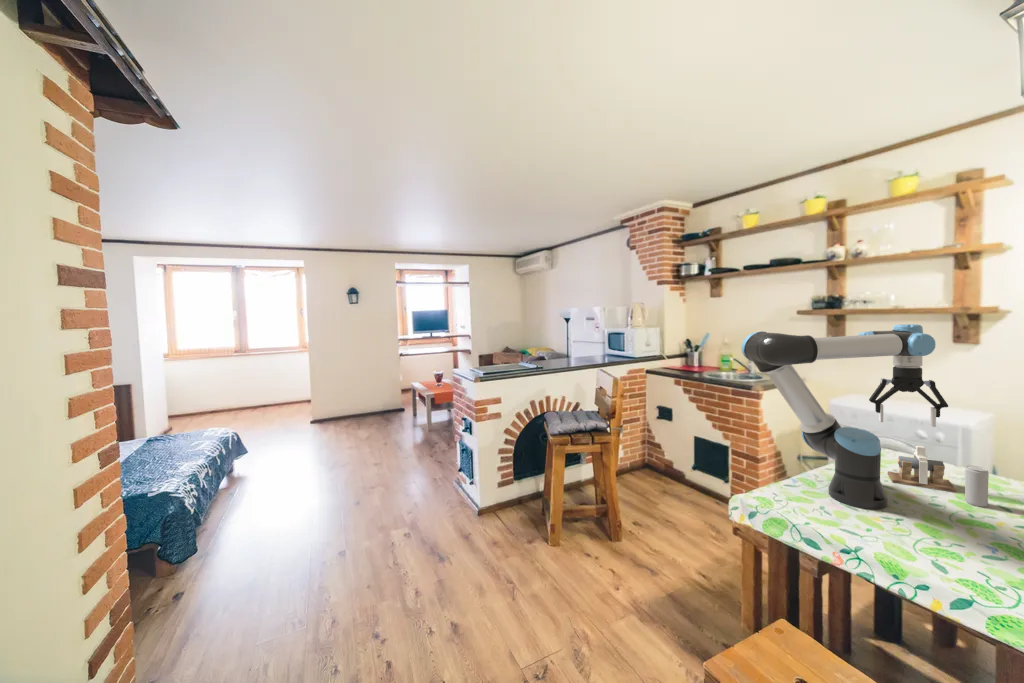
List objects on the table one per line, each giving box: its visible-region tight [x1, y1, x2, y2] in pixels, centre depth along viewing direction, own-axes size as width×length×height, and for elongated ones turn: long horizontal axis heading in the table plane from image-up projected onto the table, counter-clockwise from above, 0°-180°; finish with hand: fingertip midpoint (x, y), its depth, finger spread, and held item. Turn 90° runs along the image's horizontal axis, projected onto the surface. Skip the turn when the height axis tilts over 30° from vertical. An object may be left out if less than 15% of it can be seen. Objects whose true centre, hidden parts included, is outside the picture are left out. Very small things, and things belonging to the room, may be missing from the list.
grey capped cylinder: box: [897, 455, 946, 472], centre depth 141 cm, size 12×4×4 cm, turn 54°
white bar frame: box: [912, 445, 929, 484], centre depth 141 cm, size 2×9×12 cm, turn 143°
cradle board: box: [887, 461, 958, 493], centre depth 141 cm, size 16×9×8 cm, turn 54°
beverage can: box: [964, 464, 990, 508], centre depth 125 cm, size 5×5×12 cm
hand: (906, 423), depth 142 cm, fingers open, 13 cm apart
